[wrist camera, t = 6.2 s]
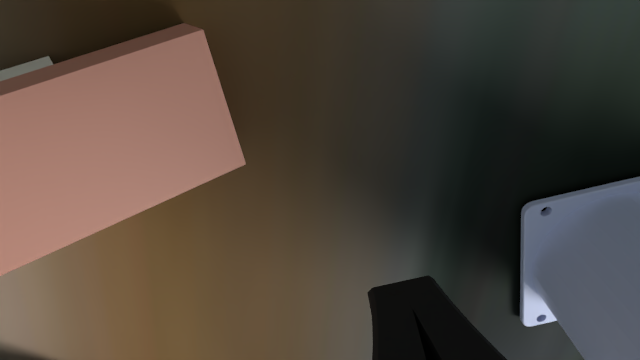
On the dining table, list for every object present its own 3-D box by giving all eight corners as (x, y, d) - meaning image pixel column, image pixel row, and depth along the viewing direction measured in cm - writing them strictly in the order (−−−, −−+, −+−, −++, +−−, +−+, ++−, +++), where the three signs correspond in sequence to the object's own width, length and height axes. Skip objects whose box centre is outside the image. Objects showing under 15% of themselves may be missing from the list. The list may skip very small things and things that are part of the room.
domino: (203, 29, 15) (-130, 138, 12) (246, 164, 18) (-19, 284, 15) (184, 22, 17) (-116, 118, 14) (226, 147, 19) (-18, 253, 16)
